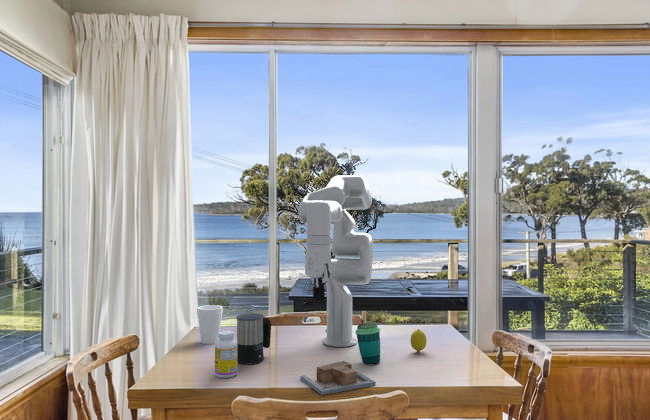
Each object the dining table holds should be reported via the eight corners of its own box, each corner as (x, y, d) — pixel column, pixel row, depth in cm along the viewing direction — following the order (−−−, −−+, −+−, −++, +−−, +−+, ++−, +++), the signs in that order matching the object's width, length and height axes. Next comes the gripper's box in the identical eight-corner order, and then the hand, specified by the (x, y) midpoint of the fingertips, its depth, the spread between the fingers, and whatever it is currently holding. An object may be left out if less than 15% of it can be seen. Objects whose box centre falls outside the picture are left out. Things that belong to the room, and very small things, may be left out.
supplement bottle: (216, 371, 154) (216, 329, 154) (238, 371, 154) (238, 329, 154) (213, 379, 147) (213, 335, 147) (236, 378, 147) (236, 334, 148)
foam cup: (224, 343, 186) (224, 308, 186) (198, 346, 182) (198, 310, 182) (220, 337, 195) (220, 304, 195) (196, 339, 191) (196, 305, 191)
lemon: (426, 354, 172) (426, 331, 172) (410, 353, 173) (410, 330, 173) (426, 350, 178) (426, 327, 178) (410, 349, 179) (410, 327, 179)
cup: (373, 367, 158) (373, 329, 158) (350, 363, 162) (351, 326, 162) (384, 361, 165) (384, 324, 165) (362, 357, 169) (362, 321, 169)
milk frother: (256, 366, 159) (256, 319, 159) (212, 361, 164) (212, 316, 164) (274, 354, 173) (274, 311, 173) (233, 350, 178) (233, 308, 178)
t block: (316, 380, 146) (316, 366, 146) (343, 374, 152) (343, 360, 152) (337, 390, 138) (337, 375, 138) (365, 382, 144) (364, 368, 144)
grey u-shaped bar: (300, 379, 147) (300, 375, 147) (350, 370, 155) (350, 367, 155) (321, 395, 134) (321, 391, 134) (375, 385, 142) (375, 381, 142)
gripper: (298, 239, 161) (298, 296, 161) (318, 242, 147) (318, 305, 147) (319, 239, 164) (319, 295, 164) (340, 242, 151) (340, 302, 151)
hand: (318, 299), depth 156 cm, fingers closed
